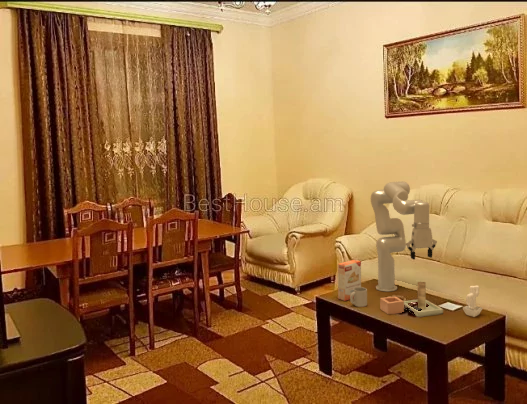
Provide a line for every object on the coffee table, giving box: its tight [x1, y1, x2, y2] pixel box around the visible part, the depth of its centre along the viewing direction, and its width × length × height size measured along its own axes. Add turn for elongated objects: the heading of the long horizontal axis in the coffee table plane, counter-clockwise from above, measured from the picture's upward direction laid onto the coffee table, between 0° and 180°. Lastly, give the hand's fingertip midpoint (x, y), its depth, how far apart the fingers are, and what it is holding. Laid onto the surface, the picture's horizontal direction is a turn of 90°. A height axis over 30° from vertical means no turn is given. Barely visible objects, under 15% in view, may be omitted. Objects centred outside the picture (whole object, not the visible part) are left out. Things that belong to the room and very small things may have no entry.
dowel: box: [417, 281, 427, 310], centre depth 269 cm, size 4×4×14 cm
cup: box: [349, 286, 368, 308], centre depth 281 cm, size 7×10×9 cm
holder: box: [379, 296, 405, 315], centre depth 270 cm, size 9×9×6 cm
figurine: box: [462, 285, 484, 318], centre depth 259 cm, size 7×9×15 cm
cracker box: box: [337, 259, 362, 302], centre depth 294 cm, size 14×6×21 cm, turn 129°
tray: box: [403, 299, 444, 318], centre depth 270 cm, size 18×14×2 cm
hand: (421, 257), depth 267 cm, fingers open, 9 cm apart
